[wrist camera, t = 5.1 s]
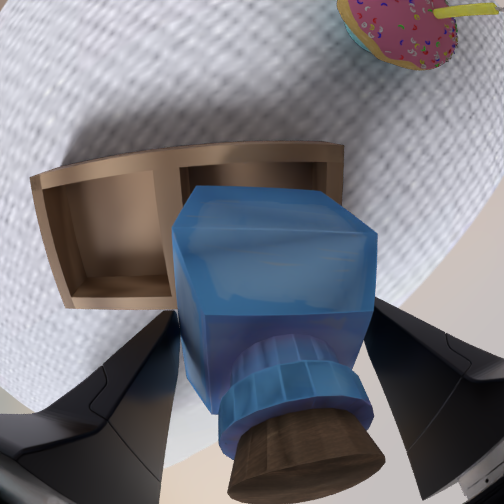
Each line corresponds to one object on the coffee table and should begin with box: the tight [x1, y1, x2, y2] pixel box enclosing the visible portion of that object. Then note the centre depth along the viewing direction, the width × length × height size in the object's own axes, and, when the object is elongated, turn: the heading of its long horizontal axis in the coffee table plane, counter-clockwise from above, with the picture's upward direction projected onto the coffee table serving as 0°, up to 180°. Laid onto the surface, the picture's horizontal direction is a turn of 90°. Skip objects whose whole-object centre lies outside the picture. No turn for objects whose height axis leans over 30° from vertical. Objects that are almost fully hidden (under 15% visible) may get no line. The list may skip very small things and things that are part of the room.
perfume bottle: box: [172, 186, 385, 504], centre depth 9 cm, size 6×6×12 cm
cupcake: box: [337, 0, 504, 70], centre depth 9 cm, size 9×8×12 cm
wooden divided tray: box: [30, 141, 344, 310], centre depth 18 cm, size 20×10×4 cm, turn 92°
